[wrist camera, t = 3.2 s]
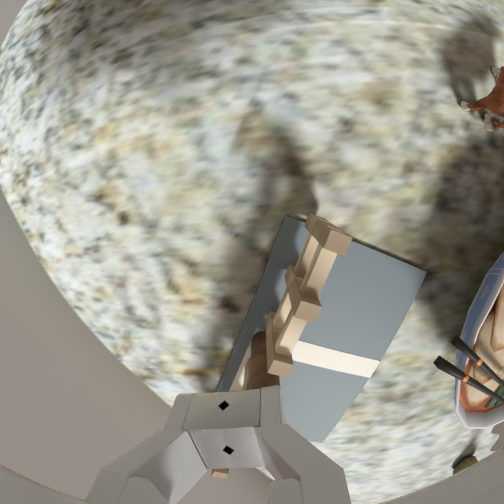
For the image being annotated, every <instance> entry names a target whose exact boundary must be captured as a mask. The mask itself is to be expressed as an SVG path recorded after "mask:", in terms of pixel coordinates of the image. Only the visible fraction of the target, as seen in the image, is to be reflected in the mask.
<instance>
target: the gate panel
mask: <svg viewBox="0 0 504 504" xmlns="http://www.w3.org/2000/svg"><path fill="white" fill-rule="evenodd" d="M304 227H305V228H306V229H307V230H308V231H309V234H308V236H307V239H306V241H305V244H304V246H303V249H302V251H301V254H300V256H299V259H298V261H297V264H296V266H294V265H291V264H289V266H288V268H287V271H286V273H285V276H284V277H285V282H286V286H287V288H286V291H285V293H284V295H283V298H282V300H281V302H280V305H279V307H278V310H277V312H273V311H270V312H269V315H268V317H267V319H266V345H267V372H268V373H270V374H274V375H278V376H282V377H286V378H287V376H288V374H289V373H290V371H291V369H292V367H293V359H292V352H293V350H294V348H295V346H296V343H297V341H298V339H299V337H300V335H301V333H302V331H303V329H304V327H305V325H306V323H307V321H308V322H312V323H315V322H316V320H317V317H318V315H319V313H320V311H321V309H322V305H321V303H320V301H319V299H318V297H319V295H320V293H321V290H322V288H323V286H324V284H325V281H326V279H327V277H328V275H329V272H330V270H331V268H332V265H333V263H334V261H335V258H336V256H337V254H340V255H342V256H345V255H346V253H347V250H348V248H349V246H350V243H351V241H352V237H351V236H349V235H348V234H346V233H345V232H343V231H342V230H340V229H339V228H337V227H336V226H334V225H333V224H332V223H330V222H329V221H327V220H326V219H324V218H321V217H318V216H316V215H313V214H311V213H309V215H308V217H307V220H306V223H305V225H304Z"/></svg>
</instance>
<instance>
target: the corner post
mask: <svg viewBox="0 0 504 504" xmlns="http://www.w3.org/2000/svg"><path fill="white" fill-rule="evenodd" d="M275 385H279V386H280V378H279V376H278V375H274V374H270V373H268V372H267V345H266V331H260V332H257V333H256V334H254V336H253V337H252V340H251V360H250V381H249V390H250V389H258V388H262V387H269V386H275ZM280 390H281V389H280Z"/></svg>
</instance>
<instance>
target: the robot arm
mask: <svg viewBox="0 0 504 504" xmlns="http://www.w3.org/2000/svg"><path fill="white" fill-rule="evenodd" d="M249 467H266V469H267V470H268V471H269V472H270V474H271V475H272V476H273V477H274V478H275V480H276V481H273V482H272V483H271V484H270V485H269V501H268V502H269V503H268V504H351V501H350V496H349V492H348V487H347V483H346V479H345V474H344V470H343V468H342V467H340V466H339V465H338V464H336V463H335V462H334V461H332V460H331V459H330V458H328V457H327V456H326V455H325V454H323V453H322V452H321V451H320V450H318V449H317V448H316V447H315V446H313V445H312V444H311V443H310V442H309V441H307V440H306V439H305V438H304V437H303V436H301V435H300V434H299V433H298V432H297V431H295V430H294V429H293V428H292V427H291V426H290V425H288V424H286V419H285V412H284V407H283V401H282V395H281V390H280V386H279V385H275V386H269V387H262V388H258V389H250V390H241V391H231V392H213V393H195V394H194V393H190V394H179V395H177V397H176V399H175V401H174V404H173V407H172V409H171V412H170V414H169V417H168V420H167V422H166V425H165V427H164V430H158V431H157V432H155V433H154V434H152V435H151V436H150V437H148V438H147V439H145V440H144V441H142V442H141V443H140V444H138V445H137V446H136V447H134V448H133V449H131V450H129V451H128V452H126V453H125V454H123V455H122V456H120V457H119V458H117V459H116V460H114V461H113V462H111V463H110V464H108V465H106V466H105V467H103V468H102V469H101V470H100V472H99V474H98V476H97V478H96V480H95V481H94V483H93V485H92V487H91V490H90V492H89V493H88V495H87V497H86V499H85V500H81V499H79V498H76V497H73V496H70V495H67V494H65V493H62V492H59V491H57V490H54V489H52V488H49V487H47V486H45V485H42V484H40V483H38V482H36V481H33V480H31V479H29V478H27V477H25V476H23V475H21V474H19V473H16V472H15V471H13V470H11V469H9V468H7V467H5V466H4V465H1V464H0V504H177V503H178V502H179V501H180V499H182V497H183V496H184V495H185V494H186V493H187V492H188V491H189V490H190V489H191V488H192V487H193V486H194V485H195V484H196V483H197V481H198V480H199V479H200V478H201V477H202V476H203V475H204V473H206V471H207V469H225V468H249ZM379 504H504V447H502V448H501V449H499V450H497V451H496V452H494V453H493V454H491V455H489V456H488V457H486V458H484V459H482V460H481V461H479V462H477V463H475V464H474V465H472V466H470V467H468V468H466V469H464V470H462V471H460V472H458V473H456V474H454V475H452V476H450V477H448V478H446V479H444V480H441V481H439V482H437V483H435V484H432V485H430V486H427V487H425V488H422V489H420V490H417V491H415V492H412V493H409V494H407V495H404V496H401V497H398V498H395V499H392V500H389V501H386V502H383V503H379Z"/></svg>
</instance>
